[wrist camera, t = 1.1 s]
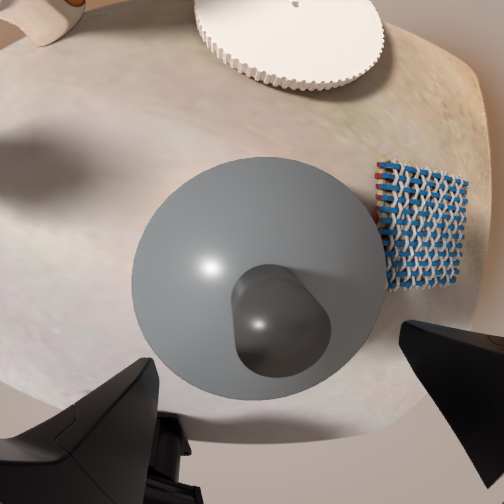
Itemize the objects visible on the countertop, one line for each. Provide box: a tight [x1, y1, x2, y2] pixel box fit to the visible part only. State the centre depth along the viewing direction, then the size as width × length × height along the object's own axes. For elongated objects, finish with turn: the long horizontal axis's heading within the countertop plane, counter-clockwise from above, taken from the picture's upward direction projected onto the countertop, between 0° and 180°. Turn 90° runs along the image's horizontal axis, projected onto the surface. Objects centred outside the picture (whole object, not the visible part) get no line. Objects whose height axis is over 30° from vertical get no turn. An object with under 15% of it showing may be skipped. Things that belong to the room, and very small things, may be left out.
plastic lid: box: [194, 0, 384, 91], centre depth 14 cm, size 14×14×2 cm
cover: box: [132, 157, 386, 400], centre depth 12 cm, size 14×14×5 cm
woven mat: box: [373, 156, 469, 293], centre depth 19 cm, size 10×11×2 cm
